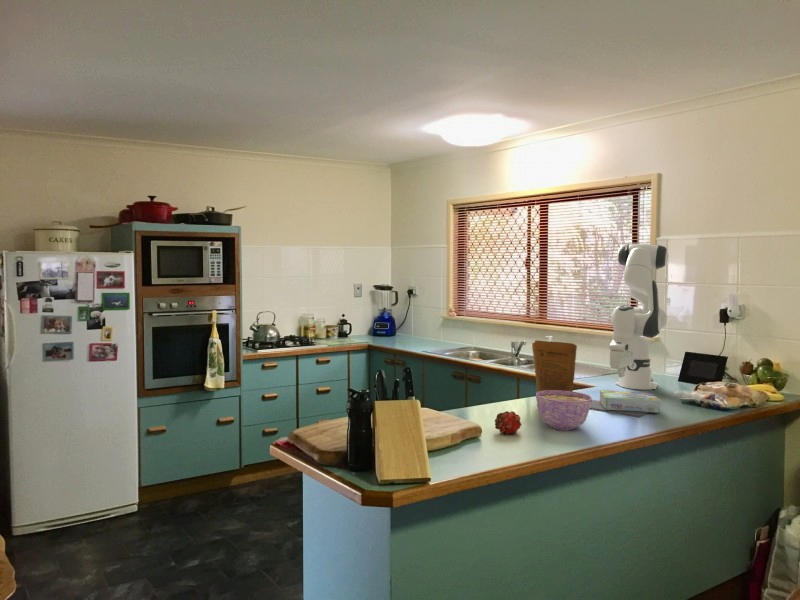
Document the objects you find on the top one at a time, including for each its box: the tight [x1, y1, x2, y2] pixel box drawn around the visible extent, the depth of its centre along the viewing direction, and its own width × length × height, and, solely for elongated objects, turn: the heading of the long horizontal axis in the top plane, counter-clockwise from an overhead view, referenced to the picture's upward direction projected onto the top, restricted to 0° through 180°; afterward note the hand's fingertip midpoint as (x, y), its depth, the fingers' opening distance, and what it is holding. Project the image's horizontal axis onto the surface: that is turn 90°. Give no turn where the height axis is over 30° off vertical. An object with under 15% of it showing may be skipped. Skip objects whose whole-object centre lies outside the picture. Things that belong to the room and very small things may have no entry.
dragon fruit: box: [494, 411, 523, 435], centre depth 231 cm, size 8×8×12 cm
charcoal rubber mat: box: [589, 399, 649, 418], centre depth 274 cm, size 16×26×1 cm, turn 54°
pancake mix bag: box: [531, 340, 578, 407], centre depth 268 cm, size 7×19×28 cm, turn 45°
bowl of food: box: [535, 390, 593, 431], centre depth 241 cm, size 20×20×12 cm
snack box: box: [599, 390, 661, 414], centre depth 273 cm, size 21×6×15 cm
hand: (621, 377), depth 280 cm, fingers closed
